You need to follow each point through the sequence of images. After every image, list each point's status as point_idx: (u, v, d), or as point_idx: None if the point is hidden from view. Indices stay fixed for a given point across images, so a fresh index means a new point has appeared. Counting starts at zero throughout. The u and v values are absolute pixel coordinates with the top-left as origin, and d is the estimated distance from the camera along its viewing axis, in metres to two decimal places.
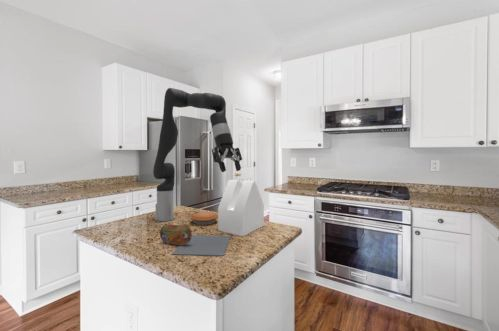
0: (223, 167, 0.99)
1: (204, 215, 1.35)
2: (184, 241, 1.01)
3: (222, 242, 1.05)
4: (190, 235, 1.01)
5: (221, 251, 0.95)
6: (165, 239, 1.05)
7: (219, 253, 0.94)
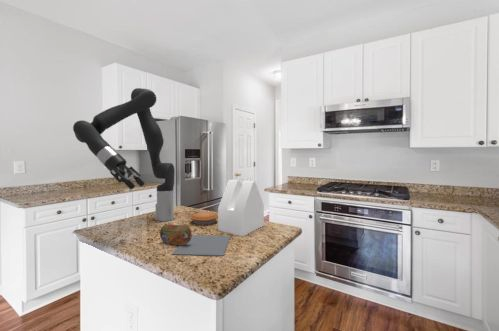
0: None
1: (204, 215, 1.35)
2: (184, 241, 1.01)
3: (222, 242, 1.05)
4: (190, 235, 1.01)
5: (221, 251, 0.95)
6: (165, 239, 1.05)
7: (219, 253, 0.94)
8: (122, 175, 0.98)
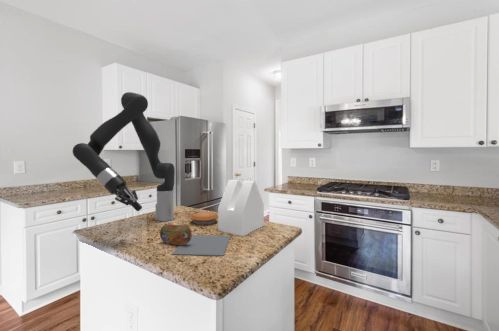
0: None
1: (204, 215, 1.35)
2: (184, 241, 1.01)
3: (222, 242, 1.05)
4: (190, 235, 1.01)
5: (221, 251, 0.95)
6: (165, 239, 1.05)
7: (219, 253, 0.94)
8: (128, 198, 1.01)
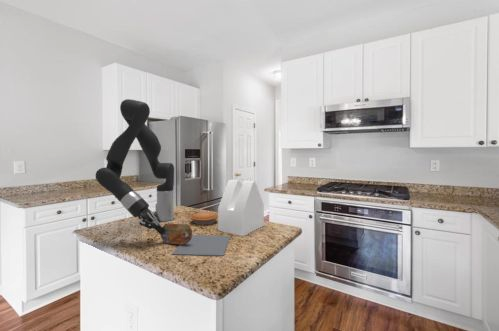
0: None
1: (204, 215, 1.35)
2: (184, 240, 1.01)
3: (222, 242, 1.05)
4: (191, 234, 1.02)
5: (221, 251, 0.95)
6: (165, 238, 1.05)
7: (219, 253, 0.94)
8: (151, 222, 1.01)
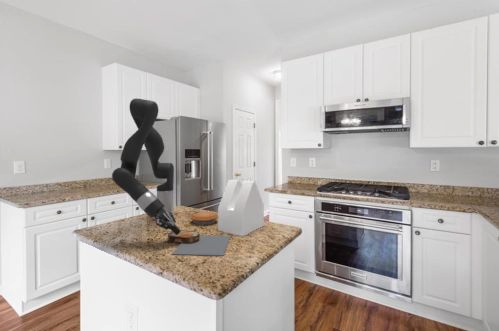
0: None
1: (204, 215, 1.35)
2: (189, 237, 1.05)
3: (222, 242, 1.05)
4: (197, 237, 1.06)
5: (221, 251, 0.95)
6: (171, 235, 1.08)
7: (219, 253, 0.94)
8: (168, 222, 1.01)
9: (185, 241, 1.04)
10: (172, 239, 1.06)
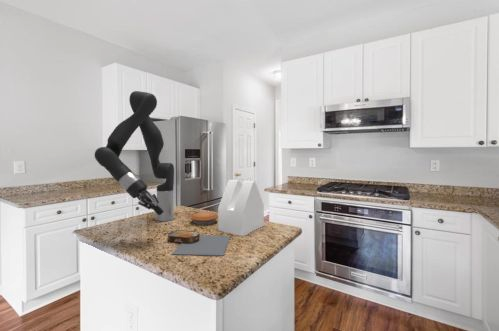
0: None
1: (204, 215, 1.35)
2: (189, 237, 1.05)
3: (222, 242, 1.05)
4: (197, 237, 1.06)
5: (221, 251, 0.95)
6: (171, 235, 1.08)
7: (219, 253, 0.94)
8: (150, 202, 1.01)
9: (185, 241, 1.04)
10: (172, 239, 1.06)
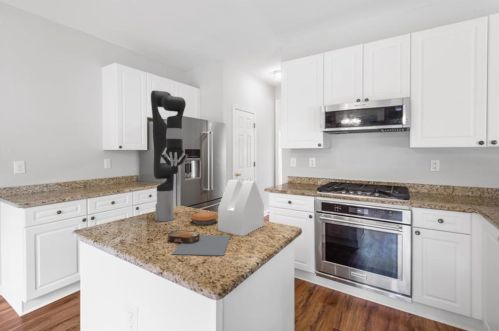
0: (172, 170, 1.18)
1: (204, 215, 1.35)
2: (189, 237, 1.05)
3: (222, 242, 1.05)
4: (197, 237, 1.06)
5: (221, 251, 0.95)
6: (171, 235, 1.08)
7: (219, 253, 0.94)
8: None
9: (185, 241, 1.04)
10: (172, 239, 1.06)
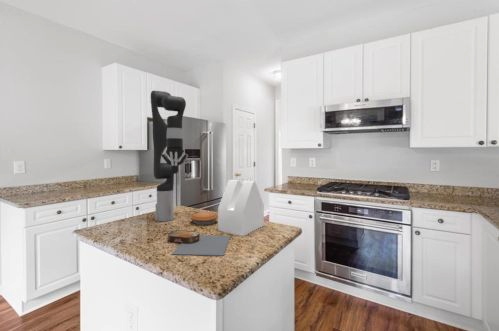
0: (173, 170, 1.18)
1: (204, 215, 1.35)
2: (189, 237, 1.05)
3: (222, 242, 1.05)
4: (197, 237, 1.06)
5: (221, 251, 0.95)
6: (171, 235, 1.08)
7: (219, 253, 0.94)
8: None
9: (185, 241, 1.04)
10: (172, 239, 1.06)
